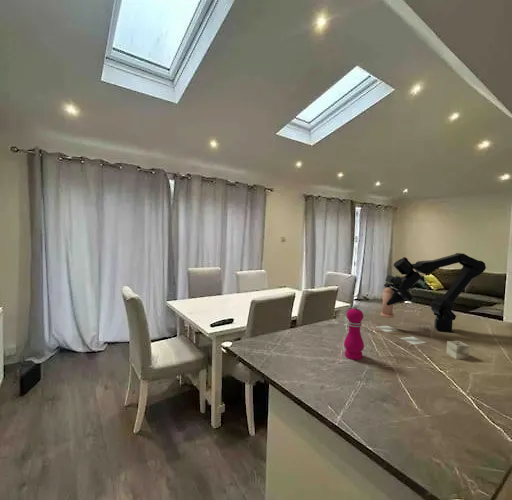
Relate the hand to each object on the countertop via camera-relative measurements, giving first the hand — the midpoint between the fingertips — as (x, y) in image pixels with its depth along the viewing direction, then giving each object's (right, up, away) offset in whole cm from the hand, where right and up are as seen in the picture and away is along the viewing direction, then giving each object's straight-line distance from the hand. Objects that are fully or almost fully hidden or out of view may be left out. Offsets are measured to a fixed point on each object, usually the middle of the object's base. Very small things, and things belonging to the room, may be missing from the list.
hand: (384, 303), depth 142 cm
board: (+4, -13, -7) cm, 15 cm away
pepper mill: (-26, -15, -31) cm, 43 cm away
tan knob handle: (+1, -6, 0) cm, 6 cm away
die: (+15, -15, -29) cm, 36 cm away
